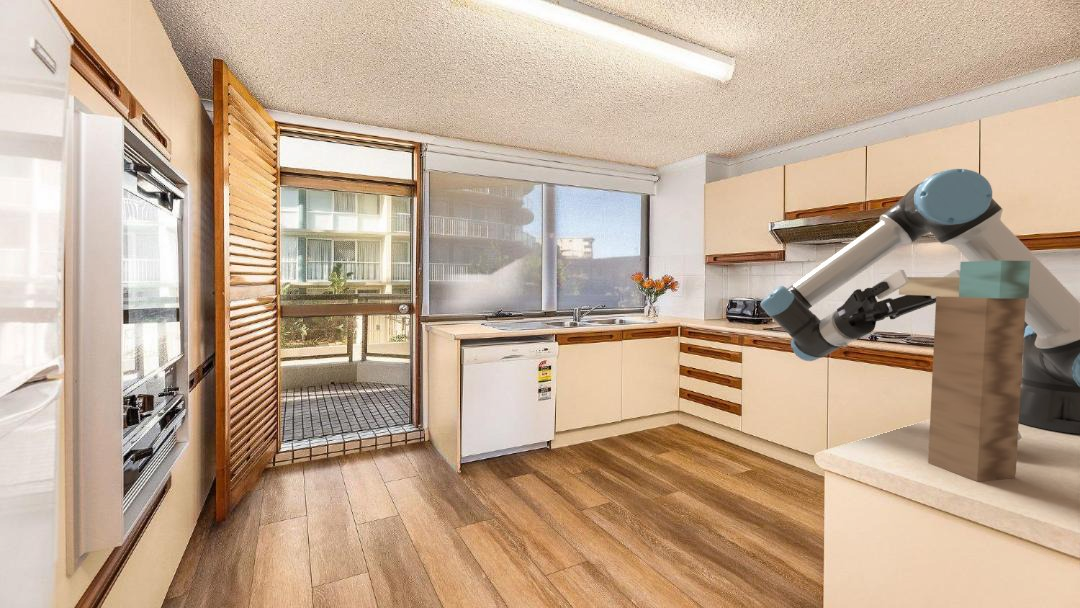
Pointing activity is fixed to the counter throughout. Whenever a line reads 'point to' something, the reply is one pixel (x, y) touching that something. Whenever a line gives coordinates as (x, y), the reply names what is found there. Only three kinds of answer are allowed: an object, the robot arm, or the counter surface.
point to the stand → (976, 386)
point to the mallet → (976, 281)
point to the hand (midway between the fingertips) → (933, 276)
